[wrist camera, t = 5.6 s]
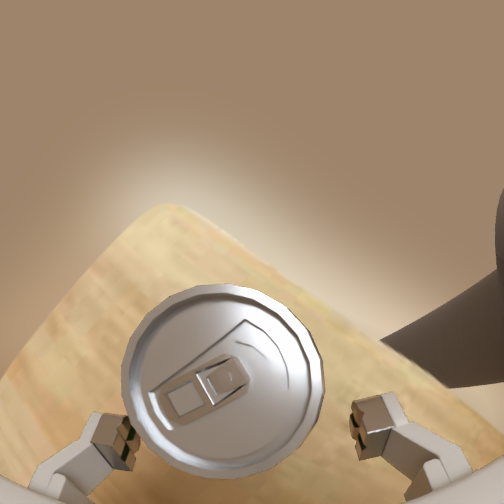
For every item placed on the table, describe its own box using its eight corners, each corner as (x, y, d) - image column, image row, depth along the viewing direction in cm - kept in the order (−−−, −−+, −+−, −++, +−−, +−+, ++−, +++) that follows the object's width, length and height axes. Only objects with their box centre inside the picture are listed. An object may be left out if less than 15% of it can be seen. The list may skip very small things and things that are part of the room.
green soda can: (236, 440, 16) (177, 514, 5) (193, 368, 18) (85, 334, 7) (312, 397, 17) (374, 414, 6) (267, 326, 19) (256, 238, 8)
